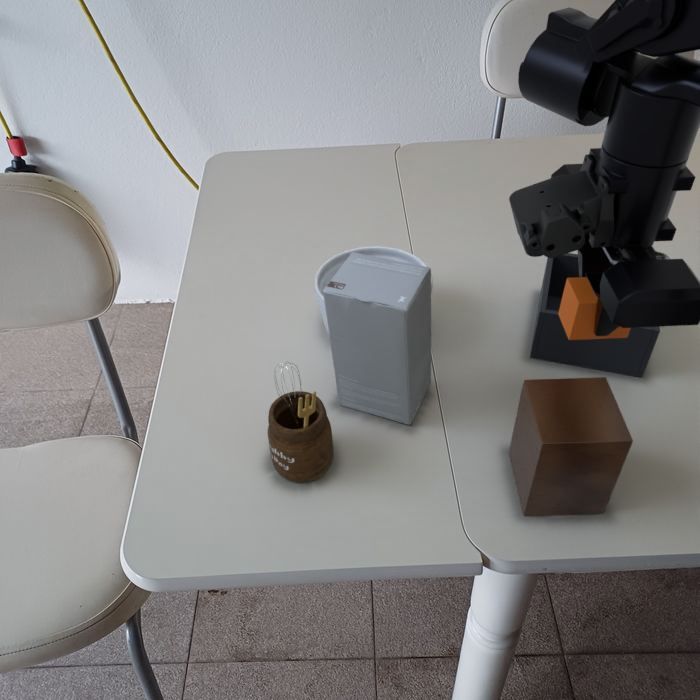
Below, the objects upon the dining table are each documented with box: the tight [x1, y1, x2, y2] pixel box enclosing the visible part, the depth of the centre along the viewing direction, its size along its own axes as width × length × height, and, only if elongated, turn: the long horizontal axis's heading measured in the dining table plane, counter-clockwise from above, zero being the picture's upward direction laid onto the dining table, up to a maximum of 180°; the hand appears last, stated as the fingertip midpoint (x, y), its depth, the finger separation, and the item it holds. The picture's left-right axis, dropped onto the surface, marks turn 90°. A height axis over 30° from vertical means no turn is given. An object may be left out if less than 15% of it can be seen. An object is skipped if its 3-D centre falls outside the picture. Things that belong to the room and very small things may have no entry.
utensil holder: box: [267, 361, 334, 483], centre depth 58 cm, size 6×6×12 cm
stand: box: [508, 376, 634, 517], centre depth 56 cm, size 7×7×10 cm
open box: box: [529, 252, 661, 378], centre depth 72 cm, size 12×12×7 cm
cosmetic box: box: [323, 252, 432, 425], centre depth 62 cm, size 8×7×16 cm
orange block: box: [558, 277, 631, 340], centre depth 54 cm, size 5×4×4 cm
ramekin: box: [313, 245, 433, 334], centre depth 74 cm, size 13×13×7 cm
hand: (593, 320), depth 55 cm, fingers closed on orange block, 3 cm apart
